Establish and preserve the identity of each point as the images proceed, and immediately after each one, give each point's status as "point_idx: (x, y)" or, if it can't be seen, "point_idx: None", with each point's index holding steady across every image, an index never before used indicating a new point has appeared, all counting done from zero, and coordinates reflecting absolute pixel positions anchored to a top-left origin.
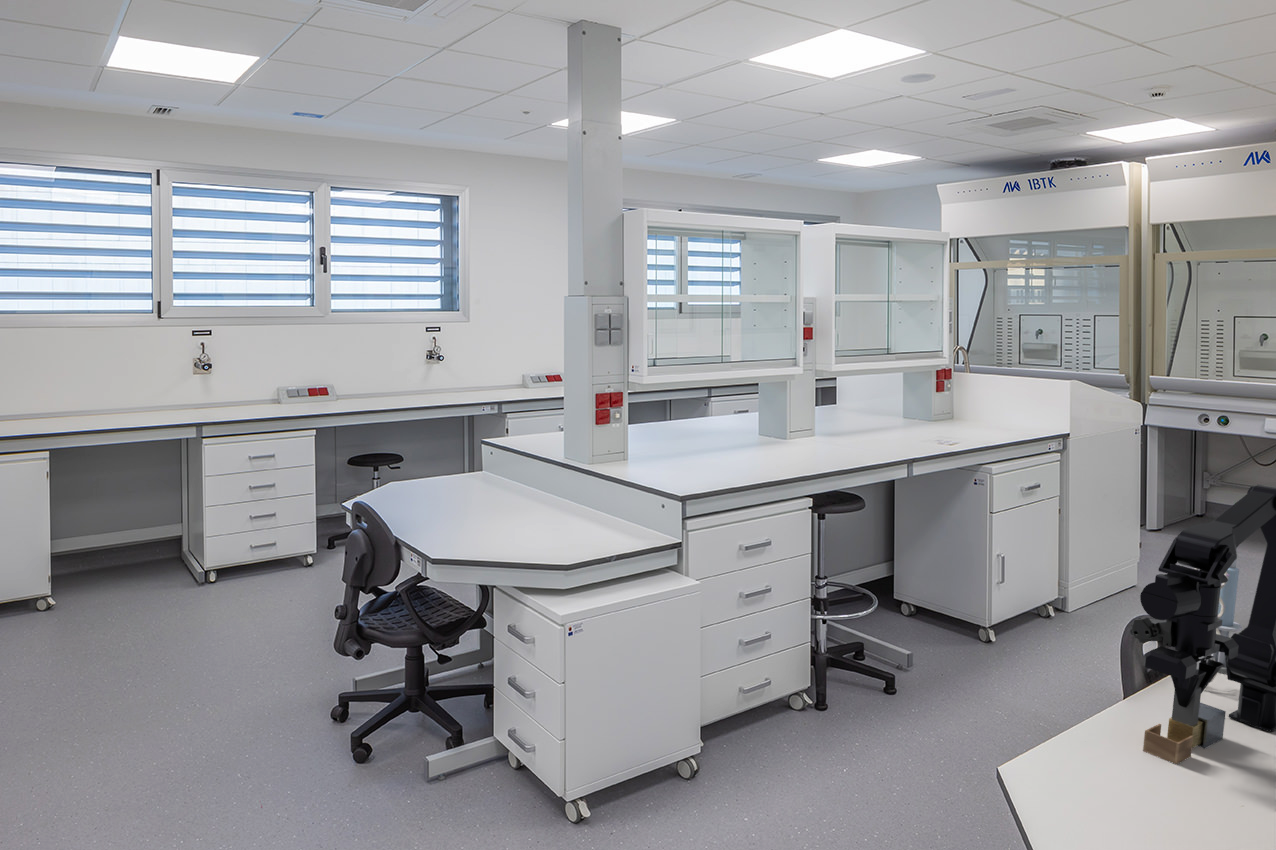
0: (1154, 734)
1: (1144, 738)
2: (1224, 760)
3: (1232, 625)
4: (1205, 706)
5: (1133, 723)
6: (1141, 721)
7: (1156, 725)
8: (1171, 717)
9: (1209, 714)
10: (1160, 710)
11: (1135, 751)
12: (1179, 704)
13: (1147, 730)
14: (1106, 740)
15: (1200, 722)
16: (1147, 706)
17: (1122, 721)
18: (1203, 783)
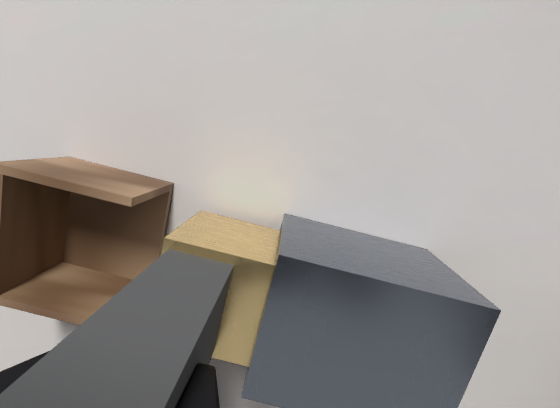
0: None
1: (27, 160)
2: (216, 365)
3: None
4: (441, 367)
5: (301, 64)
6: (349, 86)
7: (97, 191)
8: (187, 244)
9: (331, 395)
10: (538, 122)
11: (44, 136)
12: None
13: (2, 171)
14: (43, 22)
15: (238, 357)
16: (552, 65)
17: (288, 20)
18: (3, 339)
